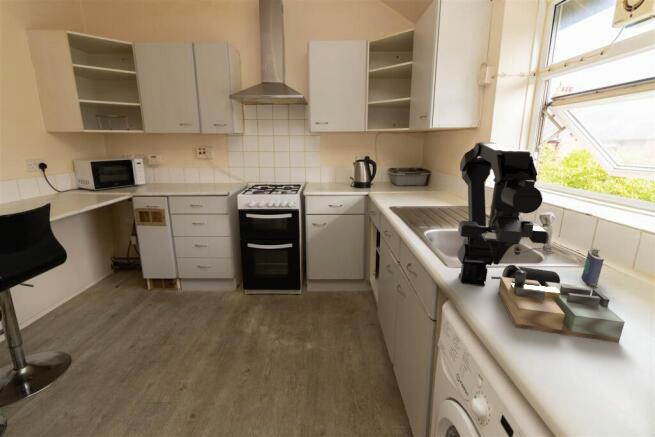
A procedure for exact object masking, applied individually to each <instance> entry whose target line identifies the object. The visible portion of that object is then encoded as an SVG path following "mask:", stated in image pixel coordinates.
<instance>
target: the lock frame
mask: <svg viewBox="0 0 655 437" xmlns="http://www.w3.org/2000/svg"><path fill="white" fill-rule="evenodd" d="M500 277H501V278H500V279H499V280H500V281H499V285H498V290H497V292H498V296H499V298H500V299H501V302H502V303H503V305H504V308H505V309H506V311H507V313H508V315H509V316H510V318H511V321H512V322H513V324H514V327H515V328H519V329H525V330H531V331H533V330H534V331H539V332H544V333H545V332H546V333H552V334H560V335H566V336H573V337H581V338H587V339H588V338H589V339H594V340H602V341H605V342H607V341H608V342H613V343H614V342H615V343H620V340H621V336H622V334H623V329H624V326H625V323H626V321H625V320H623V319H622V318H621V317H620V316H619V315H618V314H617V313H616V312H614V311H613V309H611V308H610V307H609V304H610V299H609V297H607V296H606V295H605V294H604V293H603V292H602V291H600V290H599V289H597V288H596V289H594V288H593V289H590V288H588V287H586V286H584V285H577V284H568V283H561V282H560V283H551V282H546V283H545V287H550V288H556V289H557V290H558V291H559V292H560V296H559V299H558V298H549V297H545V294H546V292H545V290H538V289H530V288H521V287H516V293H512V291H511V289H510V286H511V283H514V282H515V278H506V277H502V276H500ZM525 285H533V286H541V285H540V284H539V282H538V281H533V280H525Z"/></svg>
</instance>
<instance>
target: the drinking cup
mask: <svg viewBox="0 0 655 437" xmlns="http://www.w3.org/2000/svg"><path fill="white" fill-rule="evenodd" d="M517 270H522V271H525V272H527V274H526V280H533V281H538V282H539V284H540V285H541V286H542V287H545V283H546V282H551V283H561V278H560V275H559V274H558V273H557V272H555V271H554V270H553V271H552V270H547V269H539V268H534V267H533V268H531V267H525V266H517V265H516V264H508V265H507V266H505V267H504V268H503V271H502V276H491V277H490V278H491V280H500V278H501V277H506V278H515V276H516V271H517Z"/></svg>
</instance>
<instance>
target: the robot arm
mask: <svg viewBox="0 0 655 437" xmlns="http://www.w3.org/2000/svg"><path fill="white" fill-rule="evenodd" d="M459 170H460V172H461V179H462V180H463V181H464V183H465V184H466V186H467V201H468V202H467V203H468V204H467V206H468V220H460V222H459V223H458V228H457V230H458V233H459V236H460V237H463V238H464V239H463V240H462V241H463V243H462V245H461V246H460V248H459V249H458V251H457V259H458V261H459V262H460V264H461V266H460V272H459V274H458V276H459V280H460V282H461V284H466V285H474V286H482V287H484V286H486V283H485V282H487V277H488V271H489V270H488V268H487V266H492V264H493V265H496V266H497V265H499V264H500V263H501V261H502V259H503V257H504V256H505V254H506V253H507V251H508V250H509V249H510V248H511V247H513V246H515V245H519V244H520V243H521V241H522V238H528V240H530V241H531V242H532V243H533V244H541V245H543V244H545V245H546V244H548V242H549V237H550V235H549V233H548V232H547V231H546V230H545V228H543V227H541V226H540V225H534V222H533V221H532V220H520V214H531V213H533V212H535V211H537V210H538V209H539V208H540V207H541V205H542V202H543V199H544V198H543V194H542V192H541V190H539V189H538V188H537V187H535V184H536V182H537V181H538V180H537V176H538V172H537V168H536V166H535V162H534V158H533V156H532V154H531V151H529V149H528V150H527V149H508V148H505V147H503V146H500V145H498V144H497V143H494V142H493V141H492V142H491V141H490V142H489V141H485V142H484V141H482V142H481V141H480V142H476V143H475V144H474V147H473V148H471V149H470V150H468V151H467V152H465V153H464V154H463V156H462V158H461V160H460V163H459ZM491 171H492V173H493V175H494V178H493V182H494V184H493V191H492V197H491V198H492V199H491V204H490V208H489V209H490V213H489V218H488V222H487V213H486V212H487V211H486V188H485V185H486V181H487V180H488V178H489V176H490V175H491ZM487 225H488V226H487Z"/></svg>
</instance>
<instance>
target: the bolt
mask: <svg viewBox="0 0 655 437" xmlns="http://www.w3.org/2000/svg"><path fill="white" fill-rule="evenodd" d="M526 274H527V272H525V271H522V270H517V271H516V276H515V282H514V283H511V286H510V289H511V291H512V293H516V287H521V288H530V289H538V290H545V292H546V294H545V297H549V298H558V299H559V296H560V292H559V291H558V290H557V289H556V288H550V287H542V286H533V285H525V280H526Z"/></svg>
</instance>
